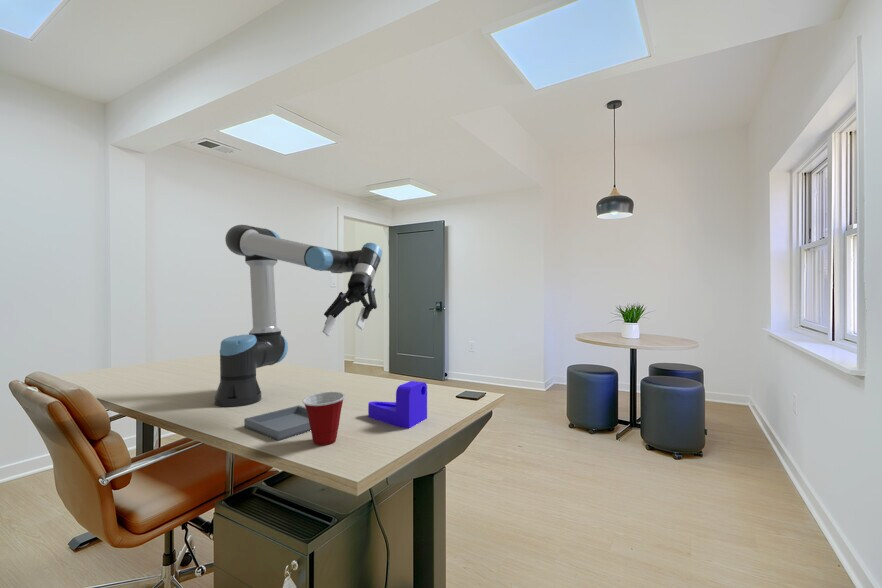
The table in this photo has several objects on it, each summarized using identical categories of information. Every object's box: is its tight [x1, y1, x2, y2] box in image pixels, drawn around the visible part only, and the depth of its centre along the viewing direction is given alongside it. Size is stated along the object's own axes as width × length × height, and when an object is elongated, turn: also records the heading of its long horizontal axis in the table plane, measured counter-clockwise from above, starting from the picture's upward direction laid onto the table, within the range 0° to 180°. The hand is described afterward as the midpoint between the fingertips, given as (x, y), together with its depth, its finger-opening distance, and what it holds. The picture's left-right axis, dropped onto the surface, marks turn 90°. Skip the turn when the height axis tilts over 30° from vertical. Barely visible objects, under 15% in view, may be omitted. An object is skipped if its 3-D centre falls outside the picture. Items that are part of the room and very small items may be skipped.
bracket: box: [367, 380, 428, 430], centre depth 127 cm, size 18×11×12 cm, turn 64°
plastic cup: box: [302, 391, 346, 446], centre depth 107 cm, size 11×11×12 cm
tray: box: [243, 404, 311, 442], centre depth 121 cm, size 18×18×2 cm
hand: (342, 330), depth 126 cm, fingers open, 13 cm apart
